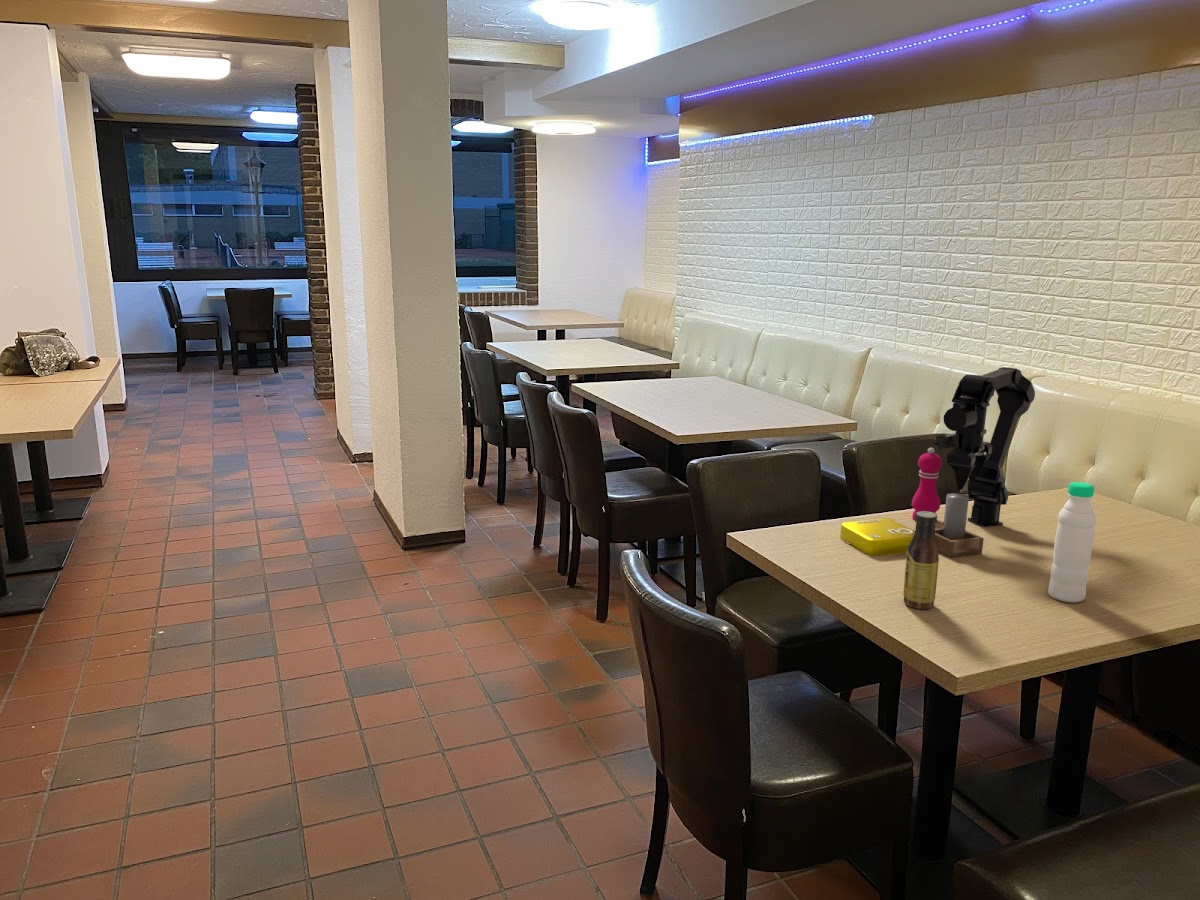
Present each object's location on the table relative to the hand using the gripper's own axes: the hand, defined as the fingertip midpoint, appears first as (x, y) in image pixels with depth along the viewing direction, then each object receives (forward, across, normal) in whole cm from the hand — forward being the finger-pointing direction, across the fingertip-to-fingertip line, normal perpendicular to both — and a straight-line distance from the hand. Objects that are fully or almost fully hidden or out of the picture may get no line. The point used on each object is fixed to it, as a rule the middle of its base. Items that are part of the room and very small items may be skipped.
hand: (965, 485), depth 228 cm
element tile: (+14, +20, -13) cm, 28 cm away
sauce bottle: (+13, +53, +8) cm, 55 cm away
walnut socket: (+13, +13, +2) cm, 19 cm away
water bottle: (+13, +28, +31) cm, 44 cm away
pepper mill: (+13, -6, -11) cm, 19 cm away
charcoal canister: (+12, +13, +2) cm, 18 cm away
